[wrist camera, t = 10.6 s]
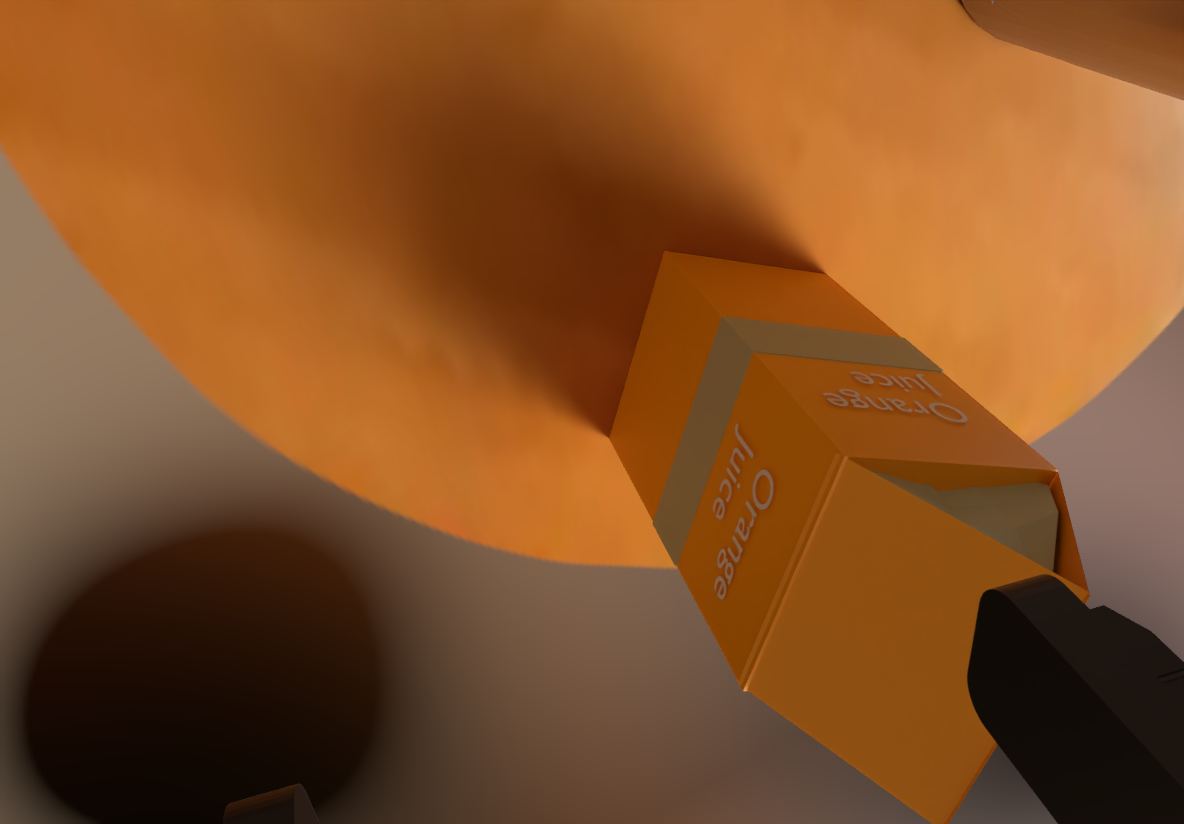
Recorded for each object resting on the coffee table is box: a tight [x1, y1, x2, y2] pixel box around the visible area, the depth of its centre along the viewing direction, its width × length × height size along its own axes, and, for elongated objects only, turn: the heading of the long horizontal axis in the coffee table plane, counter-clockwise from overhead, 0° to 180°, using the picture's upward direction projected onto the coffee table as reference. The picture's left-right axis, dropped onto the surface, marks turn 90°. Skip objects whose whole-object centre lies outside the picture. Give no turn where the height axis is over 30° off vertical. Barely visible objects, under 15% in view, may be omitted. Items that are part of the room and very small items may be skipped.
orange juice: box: [609, 251, 1090, 824], centre depth 33 cm, size 8×9×20 cm
